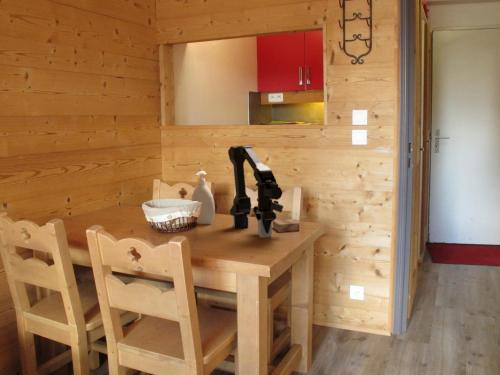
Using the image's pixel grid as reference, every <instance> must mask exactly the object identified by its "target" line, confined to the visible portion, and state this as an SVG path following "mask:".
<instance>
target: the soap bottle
mask: <svg viewBox="0 0 500 375" xmlns="http://www.w3.org/2000/svg"><path fill="white" fill-rule="evenodd" d="M205 175H207V172H205V171H204V170H200V171H198V172H197V173H194V176H200V178H198V180H197V181H198V183H197V186H196V187H195V189H194V191H193V193H192V195H191V201H198V202H202V205H201V213H200V216H199V217H198V219H197V223H196V224H199V225H211V224H212V223H213V222H214V219H215V216H216V215H215V214H216V211H215V210H216V207H215V201H214V200H215V199H214V196H213V194H212V192H211V190H210V188H209V187H208V186H207V184H206V178H204V176H205Z"/></svg>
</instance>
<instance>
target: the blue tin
mask: <svg viewBox="0 0 500 375" xmlns="http://www.w3.org/2000/svg"><path fill="white" fill-rule="evenodd" d="M272 228H273V226H272V224H271V225H270V229H269V233H266V232H265V229H264V226H263V224H262V221H261V220H258V221H257V235H258V236H259V237H260V238H272V234H273V233H272V230H273V229H272Z"/></svg>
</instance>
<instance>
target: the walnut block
mask: <svg viewBox="0 0 500 375" xmlns="http://www.w3.org/2000/svg"><path fill="white" fill-rule="evenodd" d="M300 224H301V223H300V222H298V221H296V220H295V219H293V218H289V219H275V220H273V221H272V228H273V229H274V230H276V231H277V232H278V233H287V232H286V231H290V232H298V231H297V230H300ZM295 230H296V231H295Z"/></svg>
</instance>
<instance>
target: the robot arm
mask: <svg viewBox="0 0 500 375" xmlns="http://www.w3.org/2000/svg"><path fill="white" fill-rule="evenodd" d="M227 154H228V159H229V161H230V162H231V164H232V166H233V177H234V186H235V187H234V188H235V196H234V199H233V200H232V203H233V204H232V206H231V208H230V210H229V213H230V216H233V225H232V227H233V228H234V229H246V228H249V217H248V215H250V213H251V209H252V200H251V197H250V196H249V195H248V194H247V189H246V188H247V187H246V178H245V167H244V166H245V162H247V163H248V164H249V166H250V167H251V169H252V170H253V177H254V179H255V181H256V182H257V183H255V187H257V198H256V201H257V205H255V206H254V207H253V213H254V216H255V218H256V220H257V222H258V220H261V221H262V224H263V226H264V229H265V232H266V233H269V229H270V225H271V226H272V223H273V220H277V213H276V211H277V212H279V213H282V212H283V209H284V205H282V204H281V203H279V200H280V199H281V198H282V196H283V191H282V189H281V187H280V186H279V184H278V183H277V179H276V177H275V175H274V173H273V171H272V169H271V168H270V167H269V166H268V165H266V164H263V163H262V161H261V160H260V158H259V157H258V155H257V154H256V153H255V151H254V150H253V147H252V146H251V145H236V146H234V145H232V146H230V147H229V149H228V151H227ZM274 211H275V212H274Z"/></svg>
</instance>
